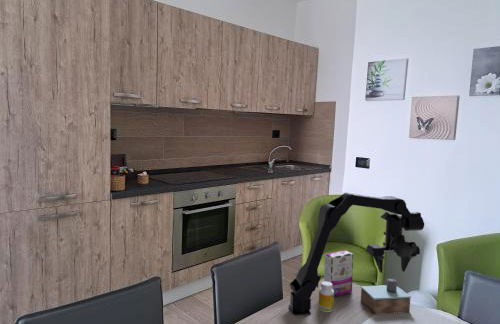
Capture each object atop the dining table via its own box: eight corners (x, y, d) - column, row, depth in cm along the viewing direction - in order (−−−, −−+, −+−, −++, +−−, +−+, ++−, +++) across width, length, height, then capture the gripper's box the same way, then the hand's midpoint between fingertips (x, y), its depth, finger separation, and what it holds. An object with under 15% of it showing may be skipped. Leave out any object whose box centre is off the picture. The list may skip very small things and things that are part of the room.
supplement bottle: (333, 313, 125) (334, 287, 125) (318, 311, 126) (319, 285, 126) (333, 306, 131) (334, 281, 130) (318, 304, 132) (319, 279, 131)
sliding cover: (374, 299, 125) (374, 287, 125) (360, 287, 135) (361, 276, 135) (410, 298, 127) (411, 285, 127) (395, 286, 137) (395, 274, 137)
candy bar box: (343, 288, 147) (345, 249, 146) (352, 292, 143) (354, 253, 141) (322, 292, 142) (324, 253, 141) (330, 297, 138) (332, 257, 136)
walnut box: (373, 314, 126) (374, 300, 125) (360, 301, 135) (361, 288, 135) (409, 312, 128) (410, 298, 127) (394, 299, 138) (394, 287, 137)
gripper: (382, 238, 120) (380, 282, 122) (431, 236, 124) (428, 279, 125) (366, 229, 131) (364, 270, 133) (411, 228, 135) (409, 267, 136)
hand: (392, 271), depth 131 cm, fingers open, 9 cm apart
